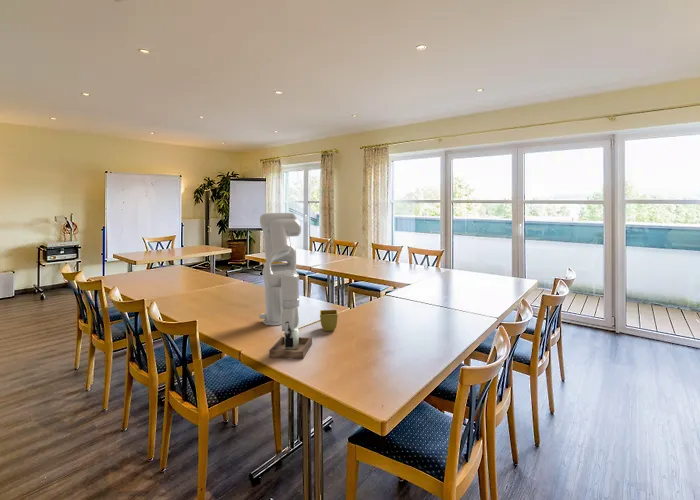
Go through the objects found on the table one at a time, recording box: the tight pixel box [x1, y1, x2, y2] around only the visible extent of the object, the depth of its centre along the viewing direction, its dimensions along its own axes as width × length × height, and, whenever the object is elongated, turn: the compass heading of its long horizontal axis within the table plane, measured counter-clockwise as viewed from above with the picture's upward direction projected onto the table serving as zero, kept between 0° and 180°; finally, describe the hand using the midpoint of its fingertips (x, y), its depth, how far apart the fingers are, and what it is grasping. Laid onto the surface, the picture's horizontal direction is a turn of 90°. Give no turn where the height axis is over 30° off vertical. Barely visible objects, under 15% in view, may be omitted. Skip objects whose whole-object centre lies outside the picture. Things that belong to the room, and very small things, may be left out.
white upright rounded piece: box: [283, 326, 300, 350], centre depth 150 cm, size 6×6×8 cm
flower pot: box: [319, 309, 339, 332], centre depth 177 cm, size 9×9×9 cm
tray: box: [268, 336, 313, 360], centre depth 151 cm, size 14×16×3 cm
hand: (291, 343), depth 150 cm, fingers closed on white upright rounded piece, 6 cm apart
